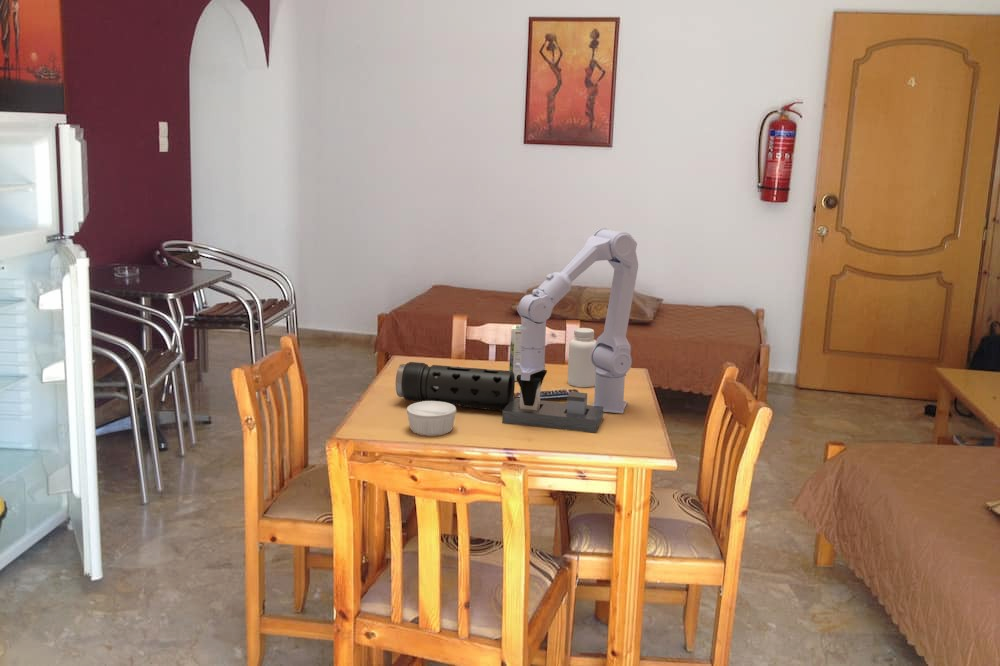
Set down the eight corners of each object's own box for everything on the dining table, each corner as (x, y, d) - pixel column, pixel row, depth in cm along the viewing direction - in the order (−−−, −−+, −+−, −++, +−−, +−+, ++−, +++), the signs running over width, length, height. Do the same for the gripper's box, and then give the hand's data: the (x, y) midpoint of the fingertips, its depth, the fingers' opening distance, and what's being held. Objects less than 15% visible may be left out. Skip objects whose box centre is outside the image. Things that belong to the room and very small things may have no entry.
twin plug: (569, 420, 224) (570, 391, 223) (586, 421, 223) (587, 393, 222) (566, 425, 220) (567, 396, 219) (583, 426, 220) (584, 397, 218)
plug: (523, 407, 227) (524, 379, 225) (539, 409, 226) (540, 381, 224) (519, 412, 223) (520, 383, 221) (536, 414, 222) (537, 385, 220)
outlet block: (513, 409, 231) (513, 397, 230) (603, 418, 226) (603, 406, 225) (502, 422, 221) (502, 410, 220) (595, 432, 215) (596, 420, 215)
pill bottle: (564, 386, 253) (566, 331, 250) (571, 378, 260) (573, 325, 257) (593, 389, 251) (596, 334, 247) (599, 381, 258) (602, 328, 255)
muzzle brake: (506, 417, 225) (508, 375, 223) (394, 407, 231) (394, 366, 229) (514, 406, 235) (515, 365, 232) (405, 396, 240) (406, 357, 238)
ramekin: (411, 439, 208) (411, 416, 207) (402, 424, 218) (402, 402, 217) (461, 436, 211) (461, 413, 210) (449, 421, 221) (450, 399, 220)
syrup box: (509, 376, 262) (510, 324, 258) (530, 376, 261) (532, 325, 258) (508, 381, 256) (510, 329, 253) (530, 382, 256) (532, 329, 253)
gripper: (523, 338, 229) (521, 392, 231) (508, 352, 215) (507, 409, 218) (551, 341, 227) (549, 395, 230) (539, 354, 213) (536, 412, 216)
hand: (530, 402), depth 224 cm, fingers closed on plug, 4 cm apart
